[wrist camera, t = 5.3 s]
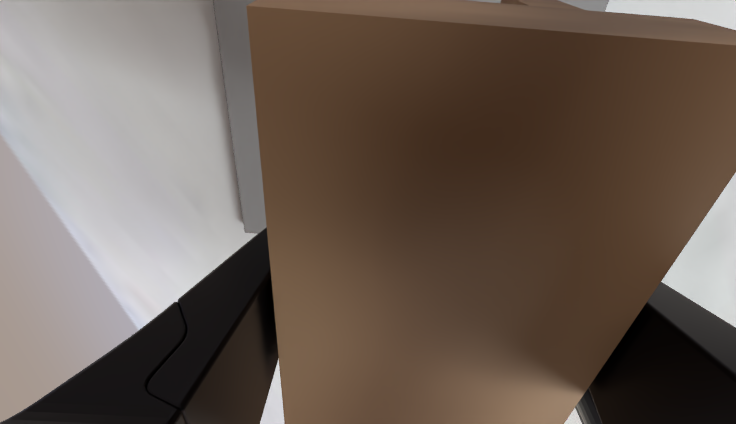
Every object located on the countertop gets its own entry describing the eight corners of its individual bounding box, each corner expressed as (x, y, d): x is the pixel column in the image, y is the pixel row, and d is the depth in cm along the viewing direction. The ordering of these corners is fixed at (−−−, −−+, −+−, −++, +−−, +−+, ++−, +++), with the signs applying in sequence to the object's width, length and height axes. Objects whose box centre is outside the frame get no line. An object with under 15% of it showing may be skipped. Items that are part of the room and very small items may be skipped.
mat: (513, 242, 24) (516, 248, 24) (247, 226, 24) (244, 232, 23) (658, -160, 14) (669, -163, 13) (191, -205, 13) (184, -210, 13)
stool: (561, -16, 10) (817, 52, 4) (472, 275, 16) (530, 472, 10) (320, -37, 10) (246, 5, 4) (319, 266, 15) (288, 462, 10)
